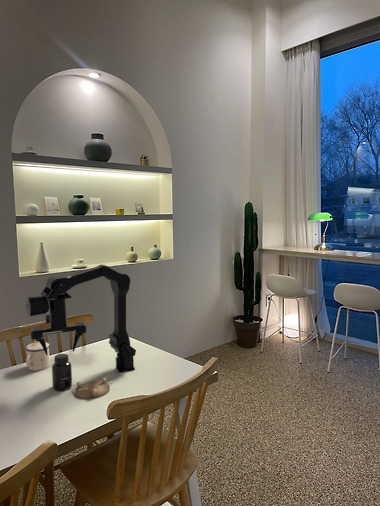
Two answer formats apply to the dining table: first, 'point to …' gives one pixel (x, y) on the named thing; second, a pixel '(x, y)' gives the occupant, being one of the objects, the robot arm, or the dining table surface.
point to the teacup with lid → (37, 356)
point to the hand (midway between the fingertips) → (60, 352)
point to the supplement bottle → (61, 373)
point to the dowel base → (92, 389)
